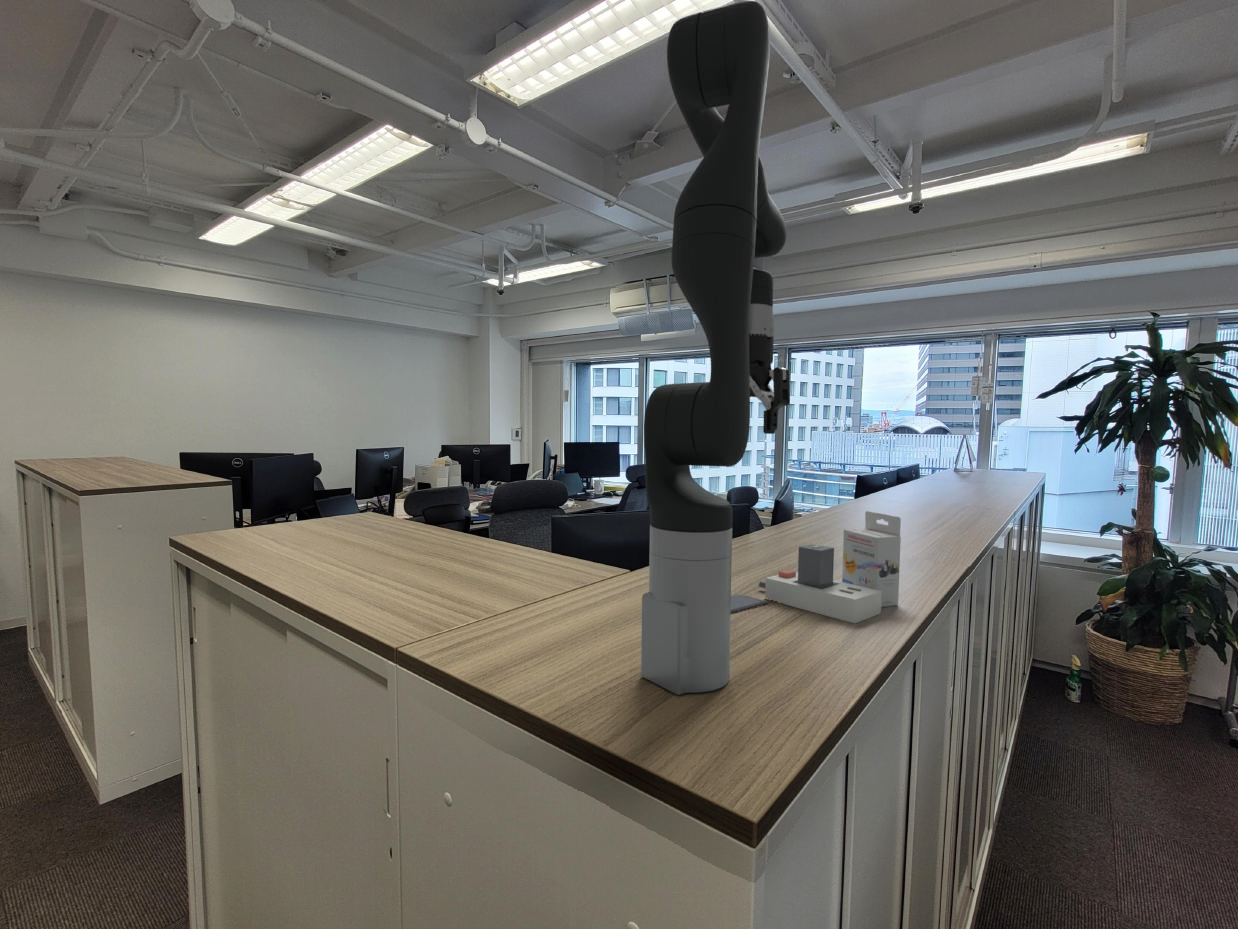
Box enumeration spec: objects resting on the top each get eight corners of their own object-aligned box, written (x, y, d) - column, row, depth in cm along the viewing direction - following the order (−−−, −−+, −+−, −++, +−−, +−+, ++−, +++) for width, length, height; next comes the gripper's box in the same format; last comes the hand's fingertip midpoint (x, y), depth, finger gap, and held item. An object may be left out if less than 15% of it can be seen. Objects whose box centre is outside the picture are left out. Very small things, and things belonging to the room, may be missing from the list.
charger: (819, 606, 90) (820, 549, 89) (797, 600, 93) (798, 545, 92) (832, 601, 92) (834, 546, 92) (810, 596, 95) (811, 543, 95)
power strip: (854, 623, 83) (855, 594, 83) (746, 593, 98) (746, 568, 98) (880, 613, 88) (881, 585, 88) (773, 586, 103) (774, 562, 103)
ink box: (839, 594, 99) (842, 511, 98) (863, 592, 100) (865, 510, 100) (875, 608, 91) (878, 518, 90) (899, 606, 92) (903, 517, 91)
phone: (717, 621, 85) (718, 614, 85) (690, 611, 90) (690, 605, 90) (768, 607, 92) (768, 601, 92) (740, 599, 97) (740, 593, 97)
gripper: (703, 339, 96) (701, 433, 97) (772, 326, 85) (769, 433, 86) (731, 344, 101) (729, 434, 102) (800, 333, 90) (798, 434, 90)
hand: (748, 433), depth 94 cm, fingers open, 8 cm apart
